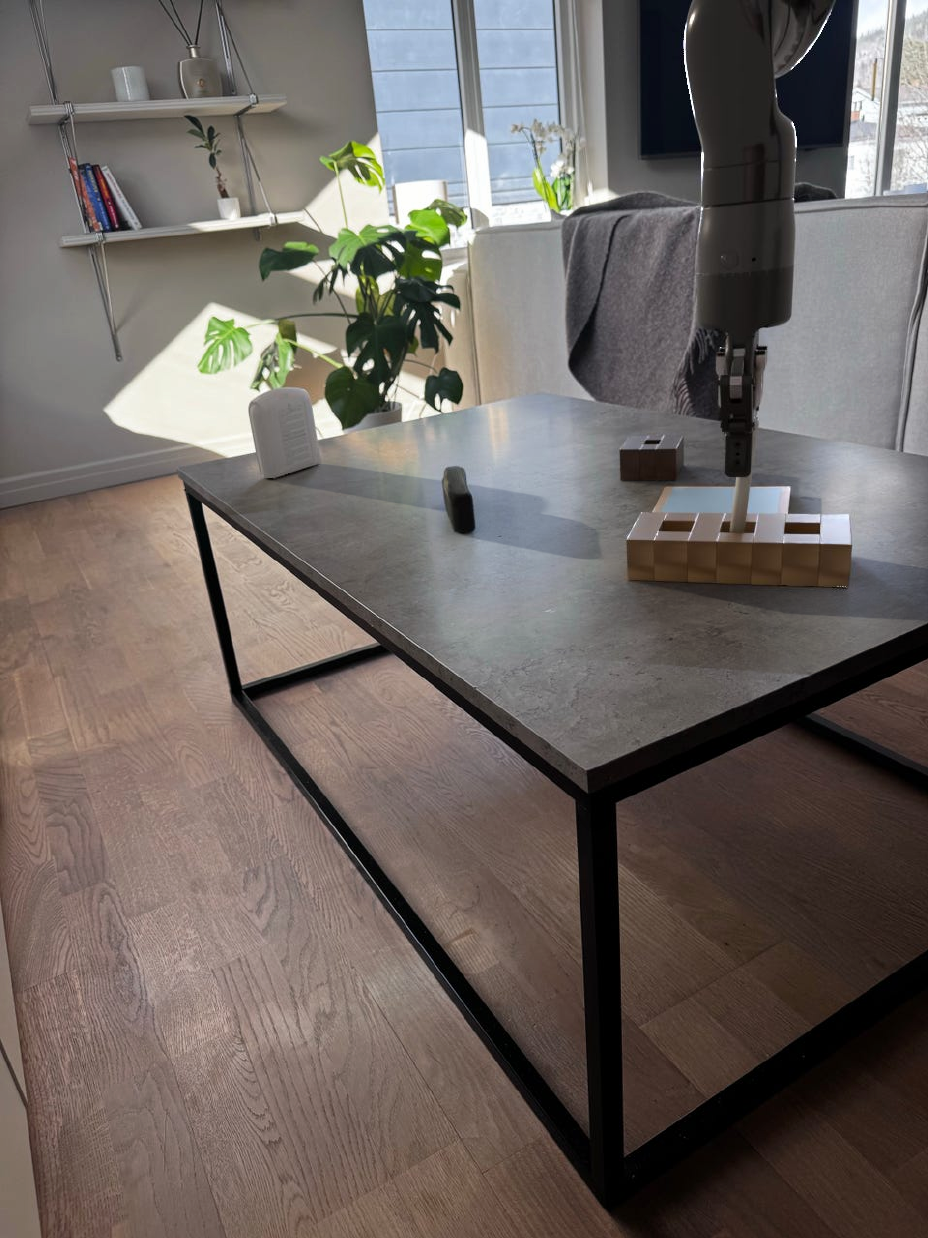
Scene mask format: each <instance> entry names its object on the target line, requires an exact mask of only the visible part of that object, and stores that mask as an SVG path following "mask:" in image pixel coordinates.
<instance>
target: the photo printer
mask: <svg viewBox="0 0 928 1238" xmlns="http://www.w3.org/2000/svg"><path fill="white" fill-rule="evenodd" d="M247 411H248V412H247V413H248V418H249V423H250V429H251V435H252V439H253V445H254V449H255V455H256V461H257V464H258V470H259V474H260V475H261V476H262V478H263V477H264V478H263V479H267V478H273V479H276V478H279V477H282V476H285V474H286V475H288V473H289V474H291V473H294V472H297V471H301V470H303V469H307V468H311V467H313V466H316V465H319V464H320V463H322V458H321V452H320V446H319V439H318V433H317V427H316V421H315V415H314V414H315V413H314V408H313V403H312V399H311V396H310V394H309V393H308V391H307V390H306V389H304V388H301V387H296V386H295V387H294V386H293V387H290V386H284V387H276V388H273V389H272V388H271V389H269V390H267V391H265V392H262V393H261V394H259V395H257V396H256V397H254V398H253V399H252V400H250V402H249V403H248V409H247Z"/></svg>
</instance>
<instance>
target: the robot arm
mask: <svg viewBox="0 0 928 1238" xmlns="http://www.w3.org/2000/svg"><path fill="white" fill-rule="evenodd" d="M835 3H836V0H692V1H691V4H690V7H689V10H688V14H687V17H686V23H685V29H684V38H683V39H684V40H683V49H684V50H683V51H684V52H683V53H684V54H683V55H684V65H685V72H686V78H687V85H688V89H689V94H690V100H691V101H690V102H691V106H692V111H693V116H694V122H695V125H696V130H697V133H698V138H699V141H700V146H701V169H700V170H701V172H700V174H701V175H700V188H701V189H700V207H701V208H700V214H699V215H700V217H699V223H698V231H697V241H696V242H697V244H696V324H697V326H698V327H699V328H700V329H702V330H704V331H705V330H706V331H713V332H717V331H722V332H723V333H724V334H725V345H724V347H719V350H718V351H717V352H716V357H715V372H716V374H717V376H718V385H717V386H718V394H717V395H718V399H717V404H718V405H717V406H718V407H719V408H720V416H721V420H720V429H721V433H723V435H724V436H725V437H724V440H725V441H724V474H725V476H726V477H728V478H736V477H748V476H749V475H750V473H751V468H752V439H753V434H754V430H755V429H756V424H755V421H754V417H755V418H756V419H757V420H758V421H759V417H758V412H760V405H761V402H762V398H763V395H764V379H765V370H766V367H767V363H768V357H769V355H768V354H769V353H768V352H769V345H765V344H764V345H759V344H760V329H769V328H774V327H779V326H782V325H784V324H787V323H788V322H789V321H790V320H791V318H792V314H793V313H792V311H793V310H792V309H793V292H794V291H793V289H794V275H795V274H794V271H795V256H796V255H795V252H796V251H795V250H796V233H797V232H796V230H797V229H796V218H795V217H796V216H795V199H794V197H795V187H796V168H797V167H796V166H797V160H796V159H797V136H796V128H795V126H794V123H793V121H792V120H791V119H790V118H789V117H787V116H786V115H784V114H783V112H781V110H780V108H779V106H778V97H777V87H776V79H778V78H780V77H782V76H784V75H785V74H787V73H788V72H790V71H791V70H792V69H793V68H794V67H796V65H797V64H798V63H800V61H801V60H802V59H803V58H804V57H805V55H806V54H807V53H808V52H809V50H811V48H812V46H813V45H814V43H815V42H816V40H817V39H818V37H819V36H820V34H821V32H822V30H823V28H824V26H825V24H826V23H827V21H828V19H829V16H830V15H831V12H832V10H833V8H834V5H835Z"/></svg>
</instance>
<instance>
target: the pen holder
mask: <svg viewBox="0 0 928 1238" xmlns="http://www.w3.org/2000/svg"><path fill="white" fill-rule="evenodd" d="M731 516H732V513H667V512H653V511H650V512H649V511H642V512H640V514H639V516H638V518H637V520H636V521H635V523H634V525H633V527H632V529H631V531H630V533H629V534H628V536H627V537H626V540H625V542H626V572H627V573H626V577H627V581H648V582H649V581H650V582H651V581H652V582H676V583H703V584H704V583H705V584H726V585H727V584H729V585H754V586H755V585H756V586H777V585H780V586H781V585H787V586H786V587H804V586H815V587H814V588H817V587H818V586H819V587H818V588H832V587H837V586H839V587H840V586H841V587H842V586H844V587H845V586H846V587H849V588H850V576H851V566H852V565H851V564H852V553H853V537H852V523H851V514H836V513H835V514H834V513H831V514H827V513H826V514H824V513H823V514H820V513H788V514H758V513H747V517H746V524H745V532H744V533H729V532H730V524H731ZM816 586H817V587H816ZM821 586H822V587H821ZM823 586H824V587H823ZM827 586H828V587H827Z"/></svg>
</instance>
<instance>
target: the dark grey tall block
mask: <svg viewBox="0 0 928 1238" xmlns="http://www.w3.org/2000/svg"><path fill="white" fill-rule="evenodd" d="M443 470H444V471H443V476H442V478H441V487H442V488H441V489H442V496H443V503H444V507H445V510H446V513H447V518H448V520H449V522H450V525H451V528H452V530H453V531H454V532H457V533H469V532H473V531H475V529H476V519H475V509H474V499H473V494H472V493H471V492H470V490H469V487H468V482H467V474H466V471H465V469H464V467H462V466H459V465H452V466H451V465H450V466H447V467H445V468H444V469H443Z"/></svg>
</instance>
